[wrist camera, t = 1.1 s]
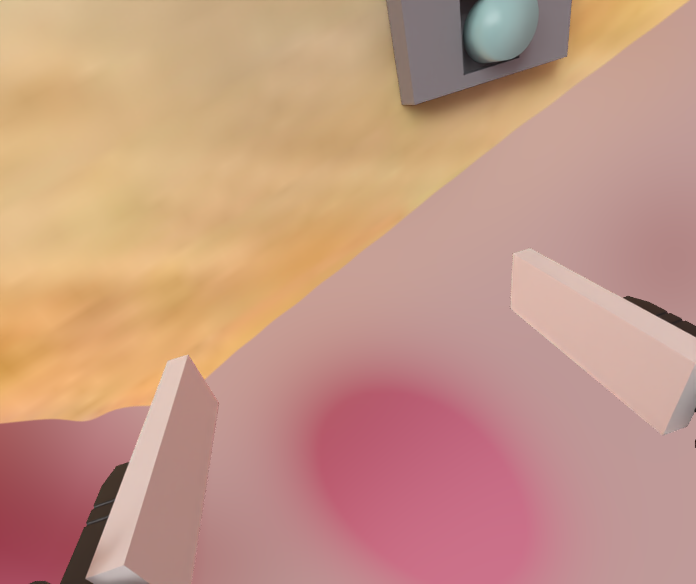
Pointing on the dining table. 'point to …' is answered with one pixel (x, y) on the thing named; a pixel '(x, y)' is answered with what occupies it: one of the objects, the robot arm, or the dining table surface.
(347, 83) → the dining table surface
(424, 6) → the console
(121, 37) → the dining table surface
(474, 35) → the button teal
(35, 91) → the dining table surface
